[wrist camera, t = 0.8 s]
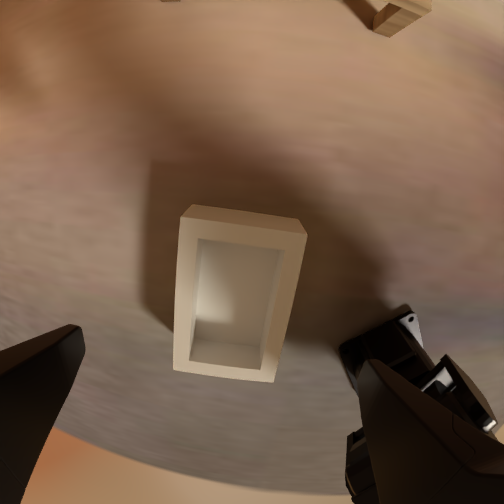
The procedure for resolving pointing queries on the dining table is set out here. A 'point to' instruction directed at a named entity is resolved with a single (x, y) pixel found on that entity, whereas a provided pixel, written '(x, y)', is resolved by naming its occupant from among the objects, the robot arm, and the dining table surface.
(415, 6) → the oak shelf
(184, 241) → the beige tray
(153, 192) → the dining table surface
